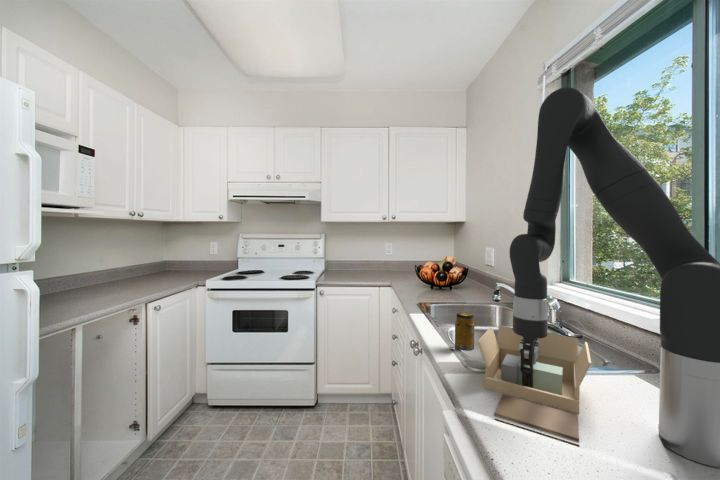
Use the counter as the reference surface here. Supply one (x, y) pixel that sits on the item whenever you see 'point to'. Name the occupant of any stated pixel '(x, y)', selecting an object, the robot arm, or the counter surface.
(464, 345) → the condiment
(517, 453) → the counter surface
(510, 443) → the counter surface
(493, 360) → the carton
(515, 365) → the box
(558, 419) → the board
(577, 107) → the robot arm
